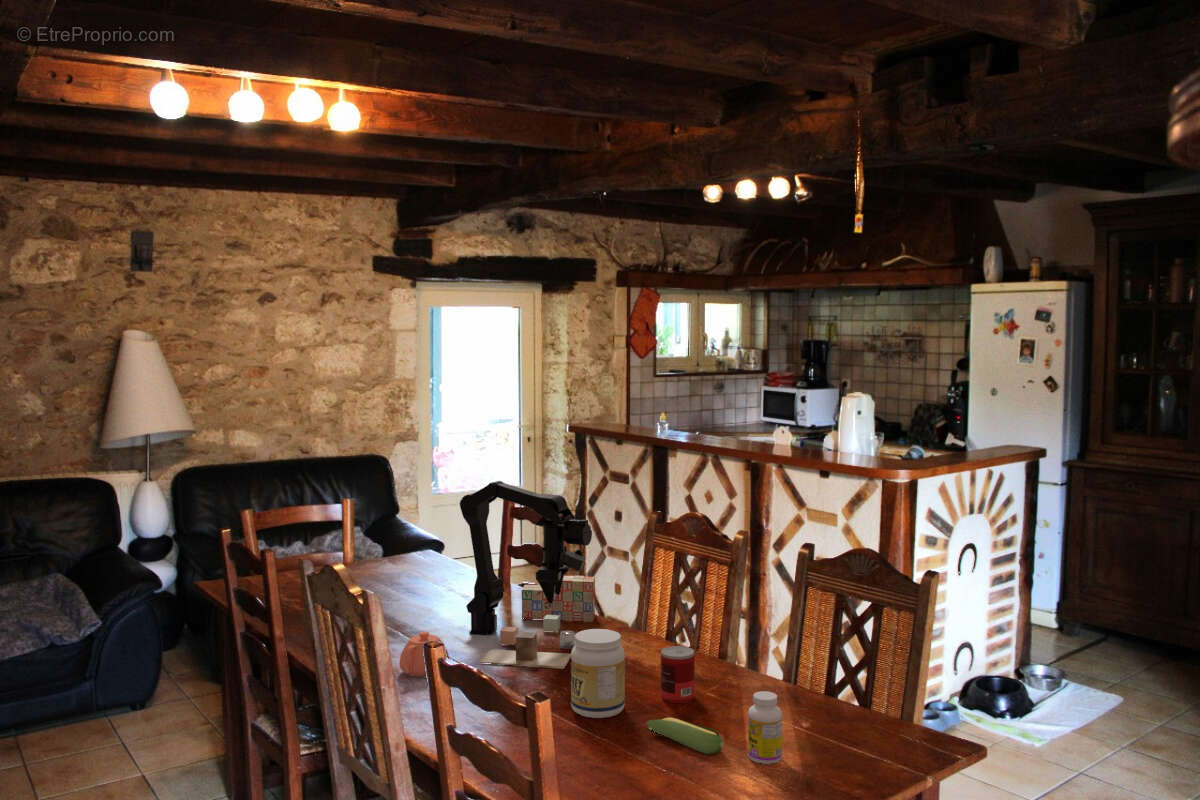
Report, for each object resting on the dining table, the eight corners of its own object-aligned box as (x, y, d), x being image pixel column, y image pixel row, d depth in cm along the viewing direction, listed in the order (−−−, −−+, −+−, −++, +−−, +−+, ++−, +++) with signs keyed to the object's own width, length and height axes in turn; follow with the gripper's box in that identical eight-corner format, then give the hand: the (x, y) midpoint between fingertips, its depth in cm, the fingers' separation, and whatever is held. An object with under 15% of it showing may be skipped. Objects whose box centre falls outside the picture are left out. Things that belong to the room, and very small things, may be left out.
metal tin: (558, 649, 262) (558, 634, 262) (561, 644, 266) (561, 630, 266) (573, 650, 262) (573, 635, 262) (576, 645, 266) (576, 630, 265)
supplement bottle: (744, 752, 197) (744, 689, 197) (776, 750, 198) (777, 688, 197) (752, 766, 191) (752, 702, 190) (785, 765, 191) (786, 700, 190)
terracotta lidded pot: (459, 668, 248) (458, 628, 247) (426, 686, 235) (426, 644, 234) (418, 661, 253) (418, 623, 252) (385, 679, 240) (384, 638, 239)
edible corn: (714, 761, 194) (714, 739, 193) (640, 733, 208) (640, 712, 207) (730, 754, 197) (730, 731, 197) (656, 726, 211) (656, 705, 211)
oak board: (479, 664, 251) (479, 661, 251) (490, 651, 260) (490, 649, 260) (563, 668, 247) (563, 666, 247) (571, 656, 257) (571, 653, 257)
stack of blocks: (521, 620, 289) (520, 579, 288) (524, 614, 296) (524, 574, 295) (593, 622, 287) (593, 581, 287) (595, 616, 294) (595, 575, 293)
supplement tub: (562, 704, 223) (562, 630, 222) (611, 696, 228) (611, 624, 227) (583, 723, 212) (583, 646, 211) (634, 714, 217) (634, 639, 216)
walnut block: (515, 660, 252) (515, 637, 251) (520, 654, 256) (519, 631, 256) (532, 660, 251) (532, 638, 251) (536, 655, 256) (536, 632, 255)
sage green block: (543, 632, 277) (543, 618, 277) (546, 628, 281) (546, 614, 281) (557, 633, 277) (557, 619, 277) (560, 629, 281) (559, 615, 281)
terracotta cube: (500, 645, 266) (500, 630, 266) (504, 640, 270) (503, 626, 270) (514, 646, 266) (514, 631, 265) (518, 641, 269) (518, 627, 269)
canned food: (697, 693, 230) (697, 647, 229) (689, 705, 222) (689, 658, 221) (666, 689, 232) (666, 644, 231) (656, 701, 225) (656, 654, 224)
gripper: (576, 550, 256) (576, 609, 257) (589, 536, 275) (589, 591, 276) (534, 549, 258) (535, 607, 259) (550, 535, 277) (550, 589, 278)
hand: (554, 598), depth 268 cm, fingers open, 9 cm apart
